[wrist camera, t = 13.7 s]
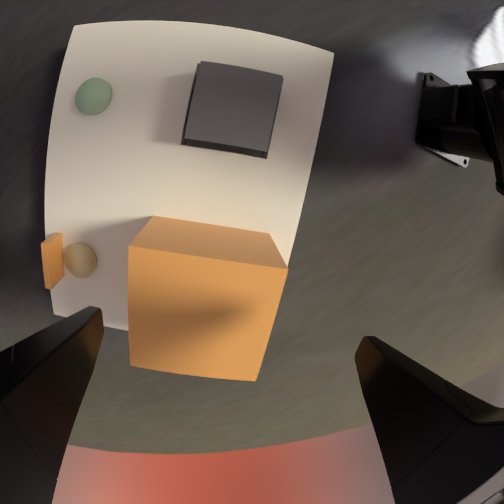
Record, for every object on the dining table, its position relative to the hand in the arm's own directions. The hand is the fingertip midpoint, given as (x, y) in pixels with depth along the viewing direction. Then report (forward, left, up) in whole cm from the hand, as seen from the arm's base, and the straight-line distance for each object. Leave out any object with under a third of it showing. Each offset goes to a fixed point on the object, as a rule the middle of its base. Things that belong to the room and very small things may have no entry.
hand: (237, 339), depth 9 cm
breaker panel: (+4, -3, -12) cm, 13 cm away
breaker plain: (+1, -8, -10) cm, 12 cm away
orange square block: (+1, +2, -9) cm, 9 cm away
